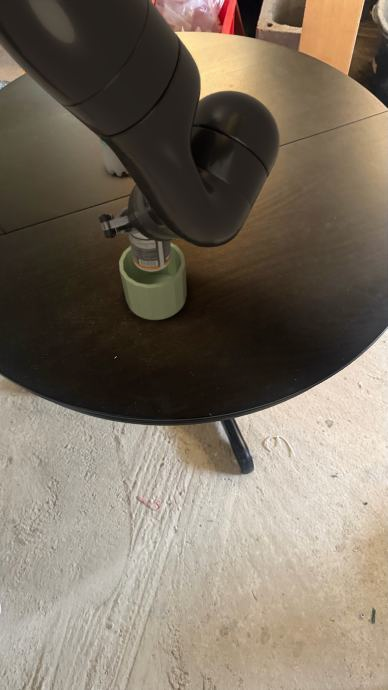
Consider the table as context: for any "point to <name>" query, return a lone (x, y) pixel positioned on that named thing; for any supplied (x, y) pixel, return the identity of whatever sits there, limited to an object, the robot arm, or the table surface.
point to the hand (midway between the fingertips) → (143, 219)
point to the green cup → (154, 286)
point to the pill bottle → (149, 252)
